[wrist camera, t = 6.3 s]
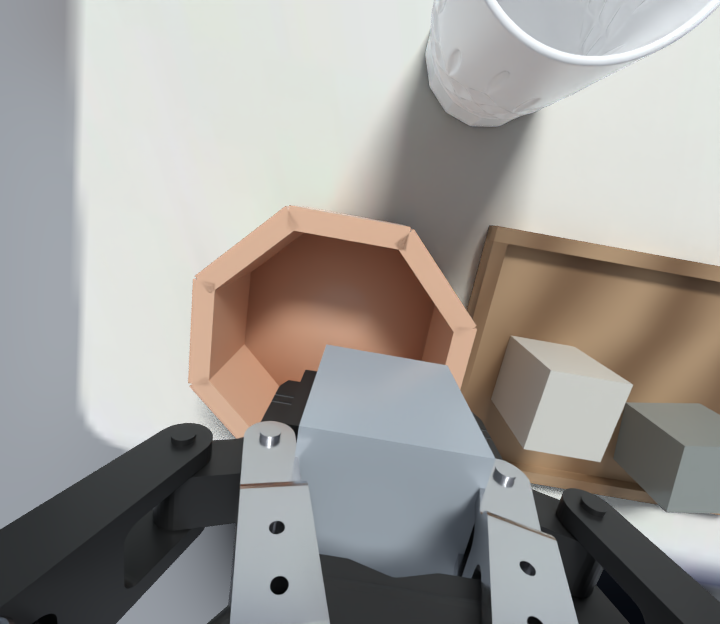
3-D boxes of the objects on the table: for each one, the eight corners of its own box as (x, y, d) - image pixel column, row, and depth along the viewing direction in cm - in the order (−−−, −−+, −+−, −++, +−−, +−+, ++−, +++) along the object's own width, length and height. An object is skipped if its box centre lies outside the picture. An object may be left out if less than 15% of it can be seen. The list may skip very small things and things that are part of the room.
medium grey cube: (699, 403, 22) (777, 447, 18) (684, 460, 23) (752, 514, 19) (625, 402, 22) (684, 446, 18) (613, 458, 24) (666, 512, 19)
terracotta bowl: (465, 235, 21) (501, 243, 15) (417, 427, 24) (431, 492, 18) (244, 195, 20) (197, 188, 15) (228, 395, 24) (184, 450, 18)
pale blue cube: (447, 365, 13) (495, 459, 8) (422, 459, 14) (451, 591, 9) (326, 344, 13) (299, 425, 8) (311, 440, 14) (278, 564, 9)
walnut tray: (849, 290, 21) (881, 296, 19) (729, 503, 25) (749, 520, 24) (489, 225, 20) (497, 226, 19) (429, 452, 25) (432, 466, 23)
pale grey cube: (574, 346, 22) (633, 384, 17) (551, 409, 23) (600, 462, 18) (510, 335, 21) (550, 370, 17) (491, 399, 23) (523, 448, 18)
